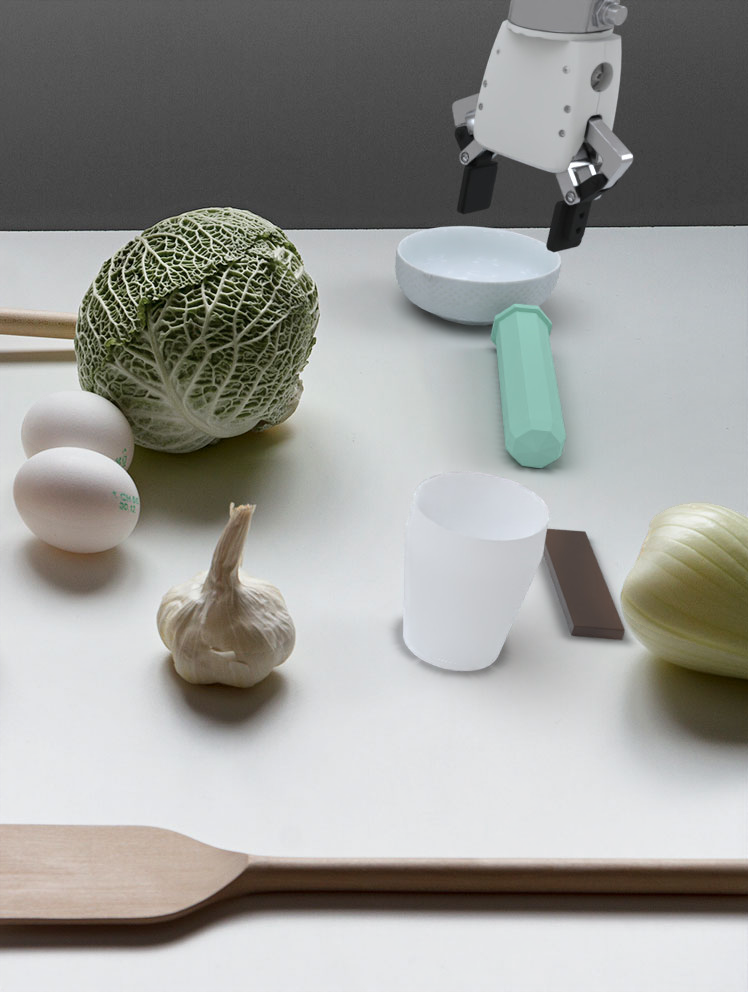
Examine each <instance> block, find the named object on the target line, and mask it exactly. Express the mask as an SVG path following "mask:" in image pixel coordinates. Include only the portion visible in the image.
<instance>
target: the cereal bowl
mask: <svg viewBox="0 0 748 992" xmlns="http://www.w3.org/2000/svg"><path fill="white" fill-rule="evenodd" d="M546 244H547V243H545V242H543V241H541V240H539V239H537V238H534V237H532V236H528V235H526V234H522V233H518V232H515V231H509V230H505V229H499V228H494V227H485V226H468V225H457V226H456V225H455V226H454V225H453V226H440V227H434V228H433V227H432V228H427V229H422V230H419V231H416V232H413V233H412V234H409V235H407V236H405V237H404V238H403V239H401V241H399V243H398V245H397V247H396V250H395V258H394V259H395V260H394V269H395V278H396V282H397V284H398V286H399V289H400V290H401V292H402V293H403V294H404V297H405V298H407V299H408V300H409V301H410V302H411V304H414V305H416V306H417V307H418V308H420V309H422V310H424V311H426V312H429V313H430V314H432V315H435V316H437V317H438V318H441V319H442V320H444V321H445V320H446V321H448V322H451V323H455V324H460V325H466V326H490V325H491V326H492V325H493V323H494V318H495V316H496V315H498V314H500V313H501V312H503V311H504V310H506V309H507V308H509V307H510V306H512V305H513V304H523V305H534V306H539V307H540V306H542V305H543V304H545V302H546V301H547V300H548V299H549V297H550V296H551V295H552V294H553V292H554V290H555V287H556V286H557V283H558V280H559V276H560V273H561V268H562V256H561V254H559V251H558V252H552V251H549V250H547V247H546Z"/></svg>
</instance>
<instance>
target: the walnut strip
mask: <svg viewBox="0 0 748 992" xmlns="http://www.w3.org/2000/svg"><path fill="white" fill-rule="evenodd" d="M543 557H544V560H545V563H546V566H547V568H548V571H549V574H550V577H551V580H552V582H553V583H552V584H553V586H554V589H555V592H556V595H557V598H558V600H559V602H560V603H559V604H560V606H561V609H562V612H563V615H564V618H565V621H566V624H567V627H568V630H569V633H570V635H571V637H580V638H592V639H603V640H605V639H607V640H617V641H622V640H623V638H624V634H625V631H626V630H625V627H624V624H623V621H622V620H621V617H620V614H619V612H618V609H617V607H616V604H615V602H614V600H613V597H612V594H611V592H610V589H609V587H608V584H607V582H606V579H605V576H604V574H603V571H602V570H601V566H600V564H599V561H598V559H597V557H596V555H595V552H594V549H593V547H592V544H591V542H590V539H589V536H588V534H587V532H586V531H584V530H574V529H572V530H571V529H570V530H569V529H559V528H547V532H546V538H545V544H544V552H543Z"/></svg>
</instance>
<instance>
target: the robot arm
mask: <svg viewBox="0 0 748 992" xmlns="http://www.w3.org/2000/svg"><path fill="white" fill-rule="evenodd" d="M620 3H621V0H510V3H509V8H508V14H507V19H505V20H503V21H502V23H501V25H500V28H499V30H498V32H497V34H496V37H495V40H494V43H493V45H492V48H491V51H490V53H489V54H490V55H489V58H488V60H487V63H486V67H485V70H484V74H483V78H482V81H481V86H480V89H479V92H478V93H475V94H472V95H469V96H466V97H463V98H460V99H457V100H455V101H453V102H452V105H451V109H452V116H453V117H452V118H453V123H454V127H456V128H455V130H454V138H455V141H456V143H457V145H458V147H459V149H460V153H459V156H458V157H459V161H460V163H461V164H462V165H463V166H464V169H463V174H462V179H461V184H460V190H459V195H458V200H457V206H456V212H457V213H459V214H461V215H467V214H471V213H477V212H480V211H484V210H488V209H490V207H491V204H492V199H493V193H494V189H495V184H496V180H497V174H498V169H499V162H498V161H496V160H493V159H494V158H495V157H496V156H497V155H500V156H503V157H505V158H509V159H510V160H513V161H516V162H519V163H522V164H524V165H528V166H529V167H534V168H535V169H539V170H542V171H545V172H548V173H553V174H554V176H555V178H556V180H557V184H558V187H559V189H560V192H561V195H562V197H563V200H559V201H556V203H555V204H554V209H553V214H552V217H551V222H550V226H549V231H548V235H547V240H546V243H545V244H546V247H547V250H549V251H552V252H558V253H559V252H561V251H567V250H570V249H574V248H577V247H580V245H581V244H582V242H583V241H582V240H583V237H584V235H585V232H586V228H587V223H588V219H589V216H590V211H591V207H592V203H593V201H597V200H600V199H601V197H602V195H603V194H605V193H606V192H608V191H610V190H611V189H612V188H614V187H616V186H617V184H618V181H619V179H620V178H621V177H622V176H623V175H624V174H625V172H626V171H627V170H628V169H629V167H630V166H631V165H632V163H634V155H633V153H632V152H631V151H630V150H629V148H627V146H626V145H625V144H624V143H623V142H622V141H621V139H620V138H619V137H618V136H617V135H616V134H615V133H614V132H613V129H614V123H615V117H616V113H617V105H618V99H619V91H620V83H621V73H622V35H620V34H617V33H614V28H615V26H621V25H623V24H624V22H625V21H626V20H627V18H628V13H629V11H628V8H627V7H626V6H625V5H620ZM599 165H601V166H600V167H599V168H598V171H596V169H595V166H599ZM575 172H576V174H575ZM576 175H577V177H578V179H579V182H580V183H578V180H577V178H576Z"/></svg>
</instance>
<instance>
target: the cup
mask: <svg viewBox="0 0 748 992" xmlns="http://www.w3.org/2000/svg"><path fill="white" fill-rule="evenodd" d="M549 521H550V511H549V508H548V506H547V504H546V503H545V501H544V500H543V499H542V498H541V497H540V496H539V495H538V494H537V493H535V492H534V491H532V489H530V488H528V487H526V486H524V485H522V484H520V483H518V482H516V481H513V480H512V479H508V478H505V477H502V476H498V475H494V474H490V473H485V472H476V471H451V472H444V473H439V474H436V475H433V476H430V477H428V478H426V479H424V480H423V481H422V482H420V483H419V484H418V486H417V487H416V489H415V491H414V494H413V499H412V503H411V507H410V509H409V514H408V518H407V521H406V524H405V528H404V544H403V545H404V547H403V549H404V550H403V611H402V612H403V614H402V615H403V617H402V619H403V620H402V621H403V622H402V637H403V641H404V643H405V645H406V647H407V648H408V650H410V652H411V653H412V654H413V655H414V656H416V657H417V658H418V659H420V660H422V661H424V662H425V663H427V664H430V665H431V666H434V667H436V668H440V669H444V670H448V671H454V672H474V671H478V670H482V669H485V668H487V667H489V666H491V665H492V664H494V663H495V662H496V661H497V659H498V657H499V655H500V654H501V651H502V649H503V646H504V644H505V642H506V640H507V638H508V636H509V633H510V631H511V629H512V627H513V625H514V622H515V620H516V618H517V616H518V613H519V611H520V609H521V608H522V604H523V603H524V601H525V598H526V596H527V594H528V592H529V589H530V587H531V585H532V584H533V581H534V578H535V576H536V575H537V572H538V570H539V567H540V565H541V563H542V560H543V557H544V554H543V552H544V544H545V538H546V532H547V529H548V527H549ZM418 649H419V650H418ZM421 651H422V652H421ZM424 653H425V654H424ZM426 654H427V655H426ZM428 655H429V656H428ZM433 657H434V658H433ZM435 658H436V659H435ZM438 659H440V660H438ZM441 660H444V661H441ZM445 661H447V662H445ZM449 662H450V663H449ZM451 662H452V663H451ZM455 663H456V664H455Z"/></svg>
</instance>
